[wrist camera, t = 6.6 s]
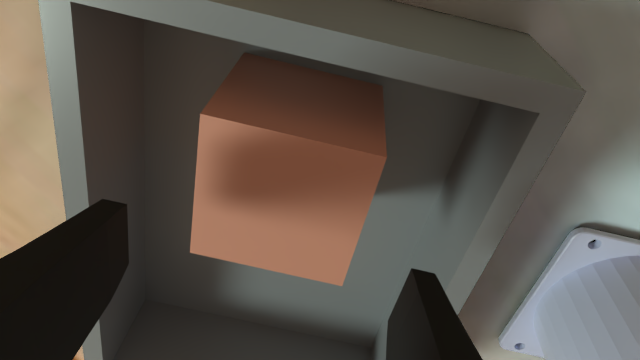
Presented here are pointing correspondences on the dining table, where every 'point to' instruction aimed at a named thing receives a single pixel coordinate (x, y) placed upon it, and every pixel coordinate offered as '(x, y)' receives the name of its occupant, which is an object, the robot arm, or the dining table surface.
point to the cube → (287, 168)
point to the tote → (391, 192)
